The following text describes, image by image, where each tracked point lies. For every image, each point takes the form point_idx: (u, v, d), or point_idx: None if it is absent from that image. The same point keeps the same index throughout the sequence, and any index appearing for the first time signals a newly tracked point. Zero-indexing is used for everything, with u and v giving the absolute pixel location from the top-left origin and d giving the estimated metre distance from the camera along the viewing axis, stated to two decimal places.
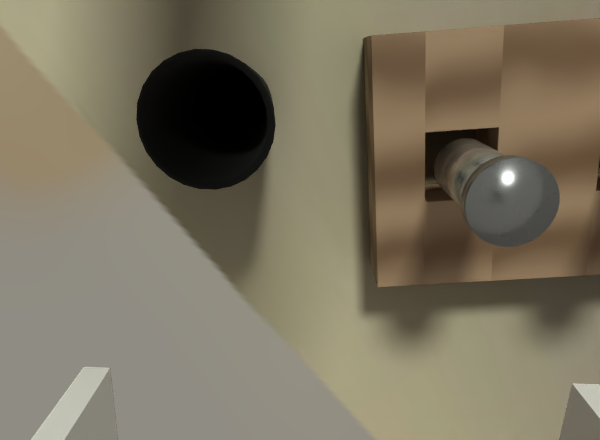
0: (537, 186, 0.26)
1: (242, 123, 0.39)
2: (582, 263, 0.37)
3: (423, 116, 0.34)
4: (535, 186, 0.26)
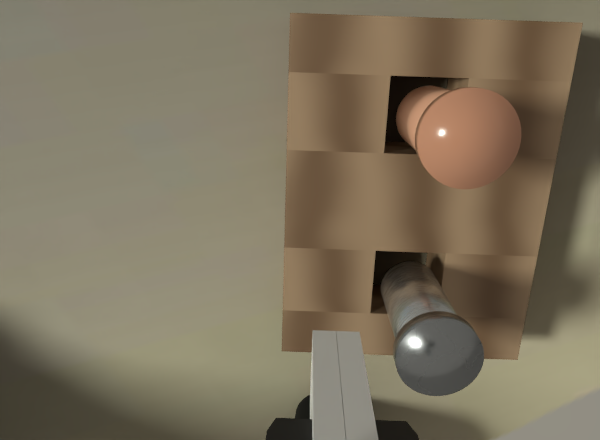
0: (426, 339, 0.27)
1: None
2: (540, 164, 0.34)
3: (355, 314, 0.37)
4: (425, 341, 0.27)
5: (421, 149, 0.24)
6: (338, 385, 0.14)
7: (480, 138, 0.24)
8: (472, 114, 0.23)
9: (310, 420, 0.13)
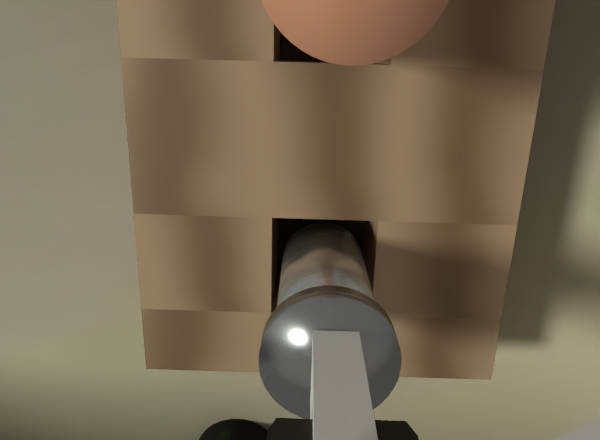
0: (305, 330, 0.17)
1: None
2: (519, 77, 0.22)
3: (249, 314, 0.25)
4: (304, 334, 0.17)
5: None
6: (338, 385, 0.14)
7: None
8: None
9: (310, 420, 0.13)
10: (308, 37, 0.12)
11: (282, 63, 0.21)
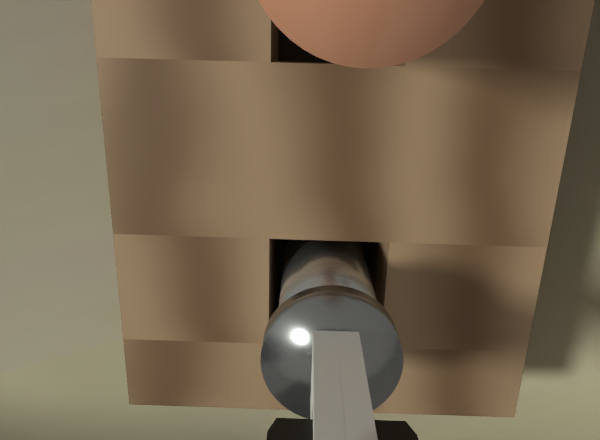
0: (307, 330, 0.17)
1: None
2: (552, 80, 0.19)
3: (244, 345, 0.23)
4: (306, 334, 0.17)
5: None
6: (337, 385, 0.14)
7: None
8: None
9: (311, 420, 0.13)
10: (311, 32, 0.10)
11: (281, 64, 0.19)
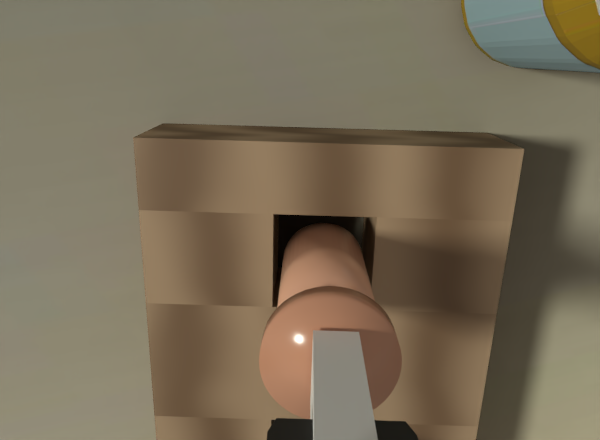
0: None
1: None
2: (476, 319, 0.26)
3: None
4: None
5: (263, 375, 0.17)
6: (337, 385, 0.14)
7: None
8: None
9: (310, 420, 0.13)
10: (297, 406, 0.18)
11: None
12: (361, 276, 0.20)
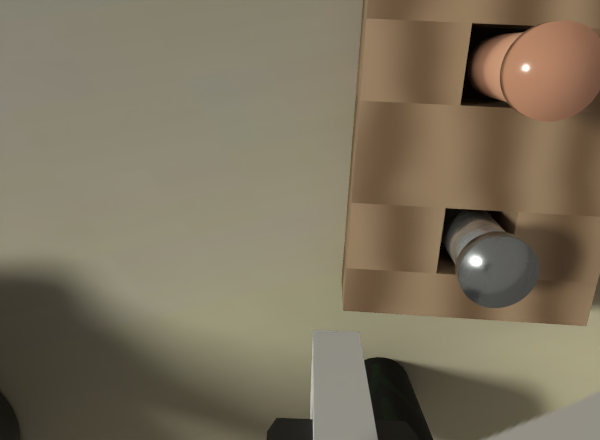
0: (487, 254, 0.31)
1: None
2: None
3: (421, 274, 0.37)
4: (487, 256, 0.31)
5: (508, 81, 0.25)
6: (337, 385, 0.14)
7: (566, 70, 0.25)
8: (560, 46, 0.24)
9: (311, 420, 0.13)
10: (527, 108, 0.25)
11: (466, 106, 0.33)
12: None
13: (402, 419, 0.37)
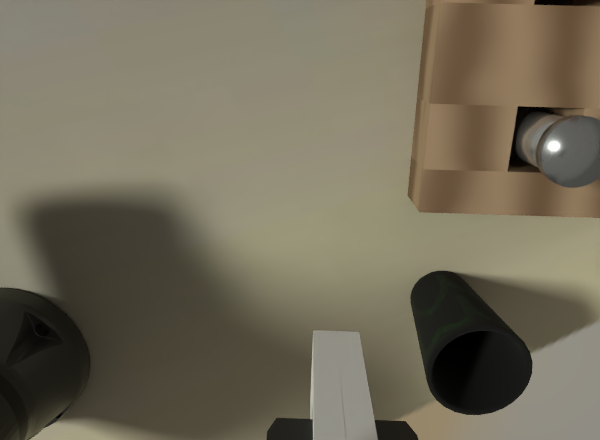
0: (569, 134, 0.33)
1: None
2: None
3: (493, 172, 0.39)
4: (568, 136, 0.33)
5: None
6: (338, 385, 0.14)
7: None
8: None
9: (311, 420, 0.13)
10: None
11: (539, 5, 0.35)
12: None
13: (480, 308, 0.39)
